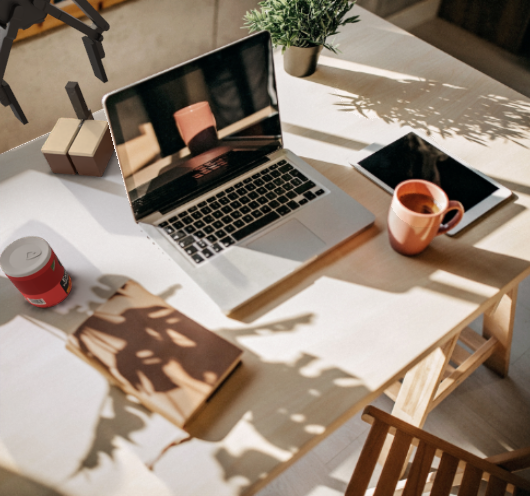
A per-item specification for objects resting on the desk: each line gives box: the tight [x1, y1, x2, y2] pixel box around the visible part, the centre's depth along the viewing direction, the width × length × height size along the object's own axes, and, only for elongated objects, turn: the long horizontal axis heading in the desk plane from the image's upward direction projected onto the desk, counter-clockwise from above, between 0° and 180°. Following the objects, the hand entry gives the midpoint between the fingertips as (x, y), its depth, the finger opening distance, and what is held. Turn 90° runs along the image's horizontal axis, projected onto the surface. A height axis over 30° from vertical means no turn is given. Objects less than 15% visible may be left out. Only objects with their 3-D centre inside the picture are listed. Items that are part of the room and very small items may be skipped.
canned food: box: [0, 235, 73, 309], centre depth 83 cm, size 8×8×11 cm
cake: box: [40, 117, 115, 178], centre depth 104 cm, size 10×11×7 cm
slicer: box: [64, 80, 95, 129], centre depth 104 cm, size 6×2×14 cm, turn 172°
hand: (63, 98), depth 74 cm, fingers open, 13 cm apart
